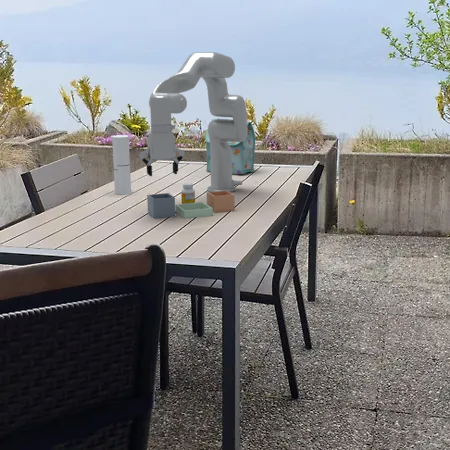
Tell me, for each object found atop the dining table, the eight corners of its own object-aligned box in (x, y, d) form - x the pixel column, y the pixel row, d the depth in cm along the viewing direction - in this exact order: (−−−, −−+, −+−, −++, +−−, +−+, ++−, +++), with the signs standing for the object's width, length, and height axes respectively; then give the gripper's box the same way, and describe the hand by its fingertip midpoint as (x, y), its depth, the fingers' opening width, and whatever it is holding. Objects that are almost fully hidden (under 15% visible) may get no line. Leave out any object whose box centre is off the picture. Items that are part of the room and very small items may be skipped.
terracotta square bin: (226, 207, 271) (226, 190, 269) (234, 212, 263) (234, 194, 261) (206, 209, 268) (206, 192, 266) (214, 214, 260) (214, 196, 258)
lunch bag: (202, 172, 345) (201, 119, 338) (219, 167, 358) (219, 116, 351) (241, 176, 333) (241, 121, 326) (257, 171, 347) (258, 118, 340)
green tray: (203, 210, 266) (202, 202, 265) (212, 217, 255) (212, 208, 254) (175, 213, 262) (175, 204, 261) (184, 220, 252) (184, 210, 251)
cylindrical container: (128, 194, 295) (125, 137, 288) (112, 194, 296) (109, 137, 290) (133, 191, 302) (131, 135, 295) (118, 190, 303) (115, 135, 297)
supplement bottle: (181, 206, 273) (181, 182, 271) (194, 206, 274) (194, 182, 271) (181, 209, 268) (181, 185, 266) (195, 209, 269) (195, 185, 266)
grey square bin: (169, 213, 262) (168, 193, 260) (175, 218, 255) (174, 197, 253) (147, 215, 259) (147, 194, 257) (153, 220, 252) (153, 199, 250)
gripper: (180, 126, 256) (181, 171, 261) (135, 129, 250) (137, 174, 255) (186, 128, 249) (187, 174, 254) (140, 131, 243) (142, 178, 248)
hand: (162, 174), depth 254 cm, fingers open, 9 cm apart
